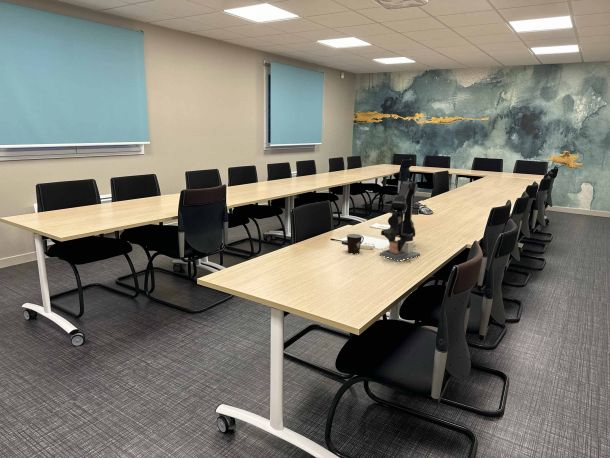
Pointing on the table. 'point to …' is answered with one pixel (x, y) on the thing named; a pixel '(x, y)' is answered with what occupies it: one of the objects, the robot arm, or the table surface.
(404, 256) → the socket board
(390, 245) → the terracotta block
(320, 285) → the table surface
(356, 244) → the coffee mug
